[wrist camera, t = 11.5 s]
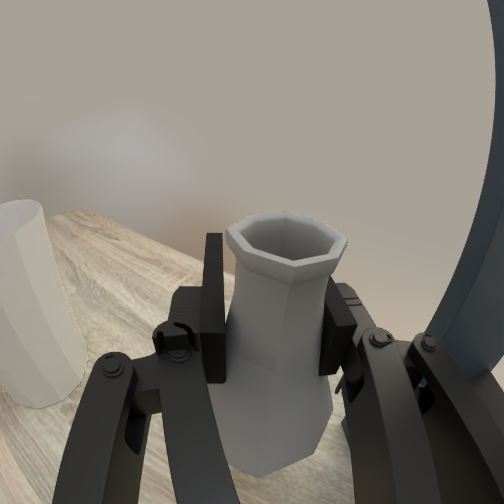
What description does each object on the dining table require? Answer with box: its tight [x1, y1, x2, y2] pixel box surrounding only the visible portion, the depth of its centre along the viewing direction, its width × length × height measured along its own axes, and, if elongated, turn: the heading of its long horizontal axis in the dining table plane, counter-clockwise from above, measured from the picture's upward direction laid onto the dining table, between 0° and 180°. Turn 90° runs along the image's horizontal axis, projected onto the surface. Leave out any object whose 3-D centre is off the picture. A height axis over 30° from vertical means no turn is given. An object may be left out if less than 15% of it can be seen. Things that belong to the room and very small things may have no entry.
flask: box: [207, 211, 348, 478], centre depth 10 cm, size 7×7×10 cm
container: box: [0, 199, 89, 409], centre depth 19 cm, size 14×14×18 cm
